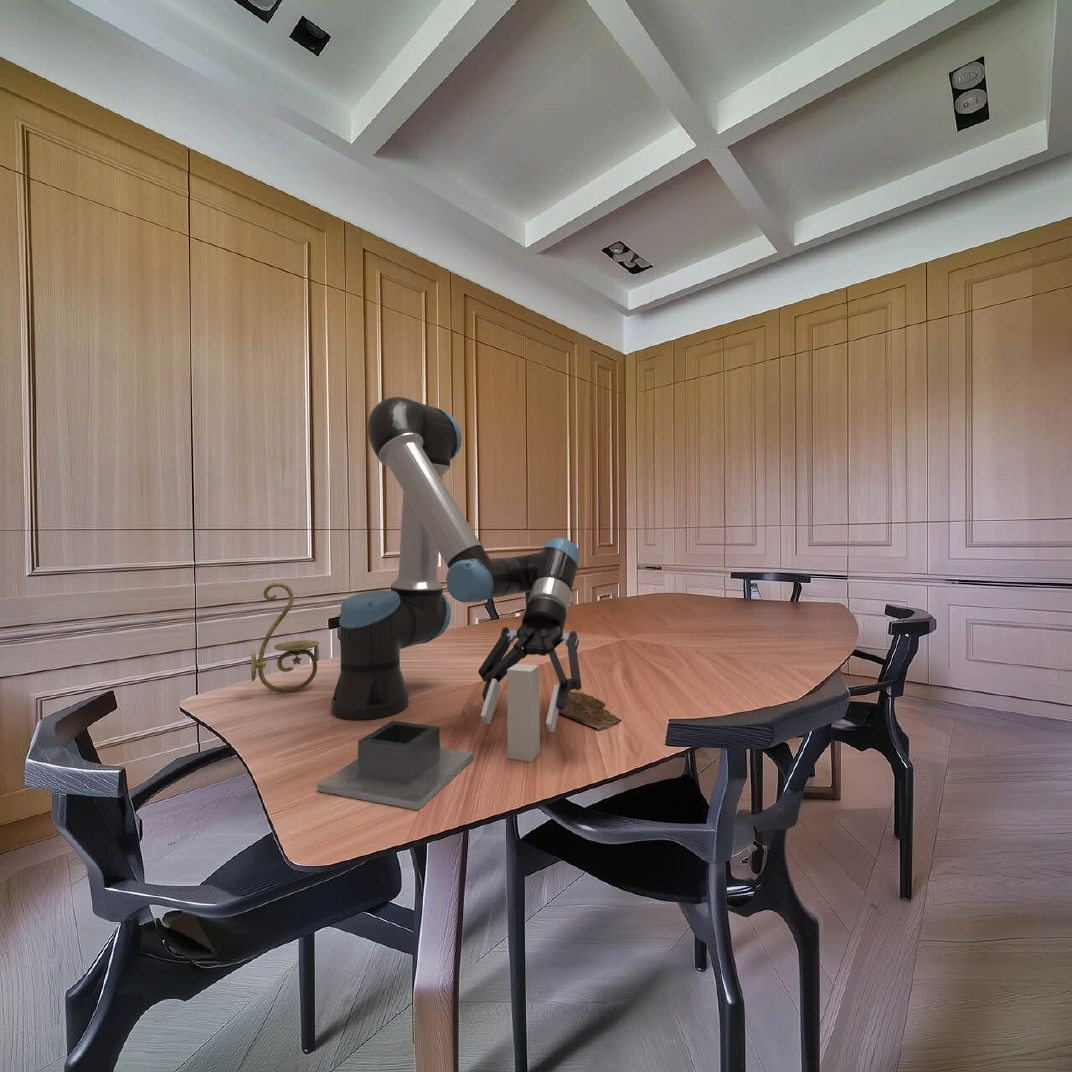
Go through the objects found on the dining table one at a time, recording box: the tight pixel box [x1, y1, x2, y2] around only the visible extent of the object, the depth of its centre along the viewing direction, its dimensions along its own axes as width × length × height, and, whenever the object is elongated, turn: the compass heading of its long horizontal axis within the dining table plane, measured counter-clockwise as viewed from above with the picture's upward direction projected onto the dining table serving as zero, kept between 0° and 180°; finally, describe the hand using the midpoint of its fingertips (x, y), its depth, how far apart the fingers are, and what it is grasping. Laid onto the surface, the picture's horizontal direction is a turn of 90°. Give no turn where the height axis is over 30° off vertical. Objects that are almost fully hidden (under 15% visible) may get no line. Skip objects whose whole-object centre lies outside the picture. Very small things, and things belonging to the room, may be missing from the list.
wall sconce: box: [250, 582, 320, 693], centre depth 117 cm, size 14×10×25 cm
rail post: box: [506, 663, 541, 763], centre depth 83 cm, size 4×4×14 cm
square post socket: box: [316, 720, 474, 811], centre depth 76 cm, size 16×16×6 cm
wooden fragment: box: [558, 691, 623, 732], centre depth 105 cm, size 26×11×1 cm, turn 11°
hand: (516, 723), depth 80 cm, fingers open, 10 cm apart
